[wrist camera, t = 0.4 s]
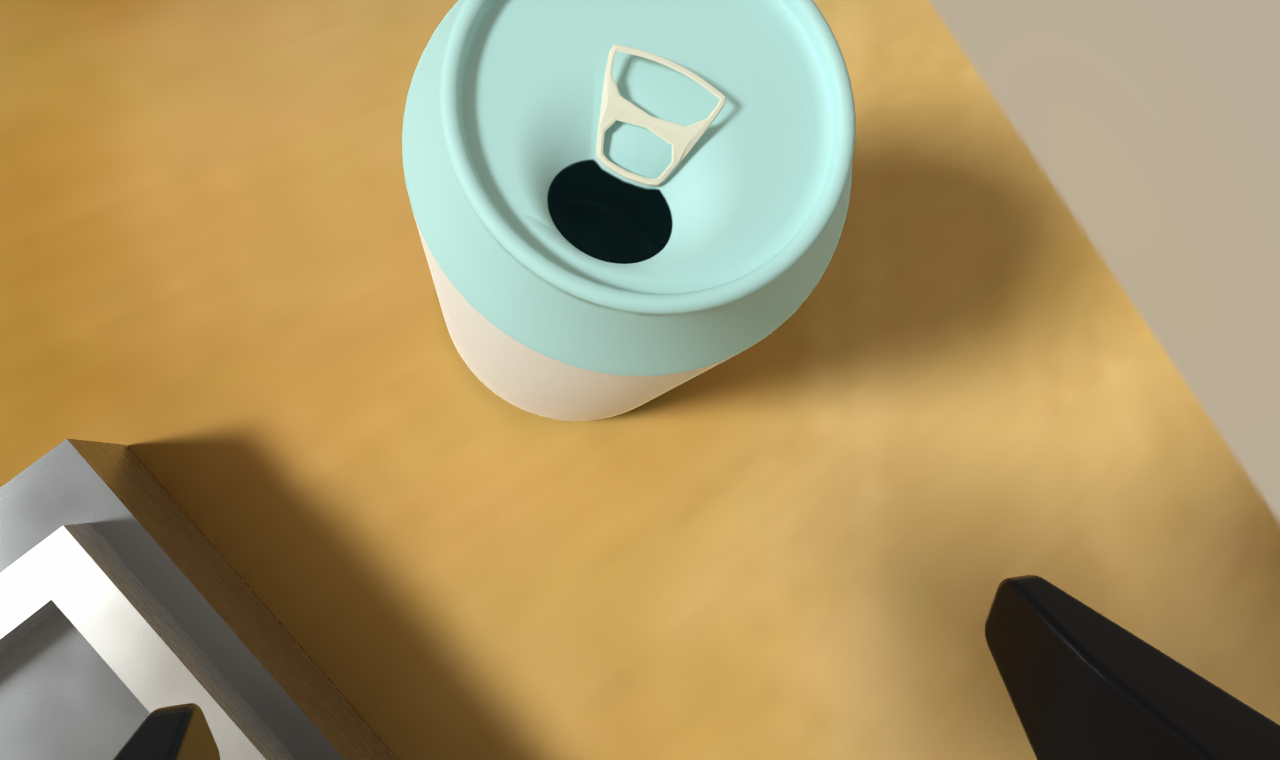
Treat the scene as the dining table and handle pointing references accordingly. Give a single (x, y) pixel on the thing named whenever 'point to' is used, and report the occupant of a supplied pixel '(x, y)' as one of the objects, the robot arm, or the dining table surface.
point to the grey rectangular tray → (142, 626)
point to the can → (624, 187)
